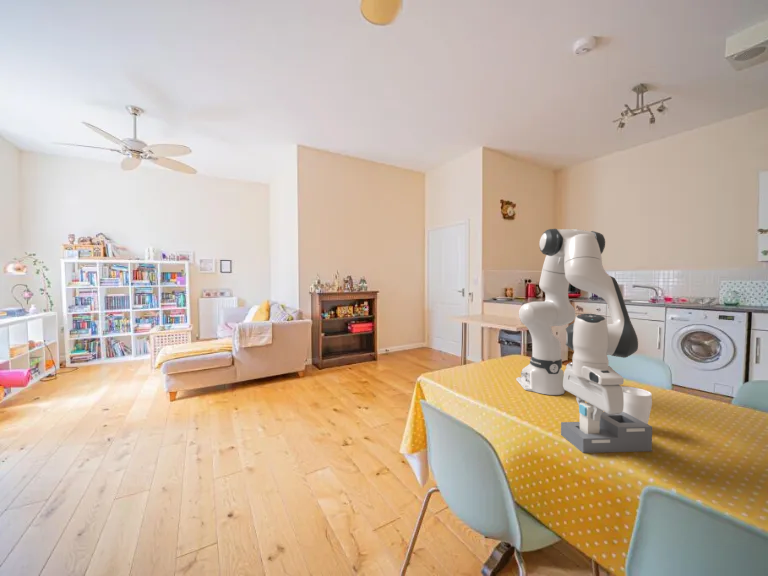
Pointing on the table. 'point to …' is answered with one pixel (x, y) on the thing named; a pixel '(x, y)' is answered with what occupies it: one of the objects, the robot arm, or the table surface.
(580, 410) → the plug
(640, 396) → the cup
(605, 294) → the robot arm
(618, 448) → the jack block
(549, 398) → the table surface
